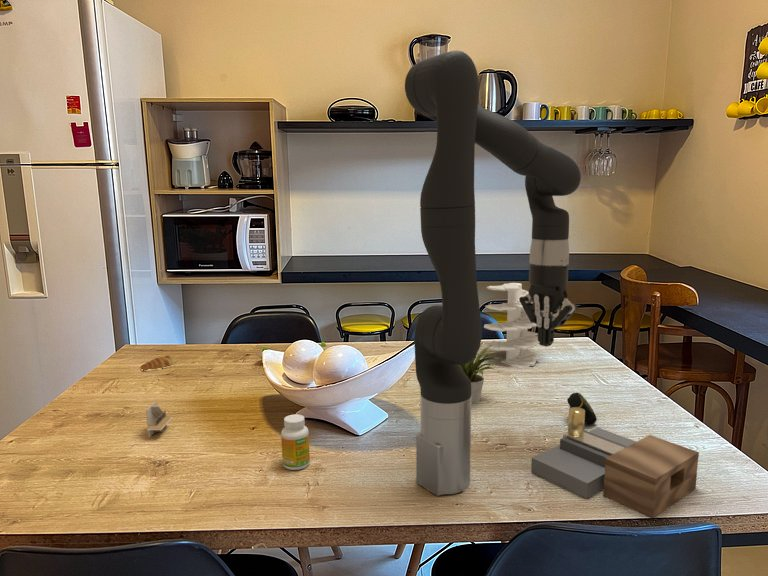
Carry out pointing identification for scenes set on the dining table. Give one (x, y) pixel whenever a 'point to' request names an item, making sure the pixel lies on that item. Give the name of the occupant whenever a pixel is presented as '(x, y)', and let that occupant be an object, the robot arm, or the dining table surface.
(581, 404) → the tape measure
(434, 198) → the robot arm
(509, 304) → the spiral staircase
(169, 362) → the pastry
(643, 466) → the block
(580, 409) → the bolt
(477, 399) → the house plant
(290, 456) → the supplement bottle
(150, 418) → the architectural model
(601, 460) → the grey grooved block
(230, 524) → the dining table surface
